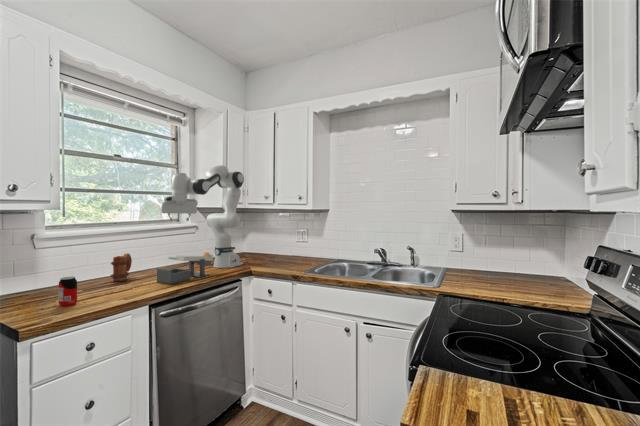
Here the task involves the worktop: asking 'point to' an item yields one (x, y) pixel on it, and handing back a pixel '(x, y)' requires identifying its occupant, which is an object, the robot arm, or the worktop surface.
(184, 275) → the grey open box
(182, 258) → the lever
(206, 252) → the ball
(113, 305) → the worktop surface
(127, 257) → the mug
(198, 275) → the stand
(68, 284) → the beverage can
